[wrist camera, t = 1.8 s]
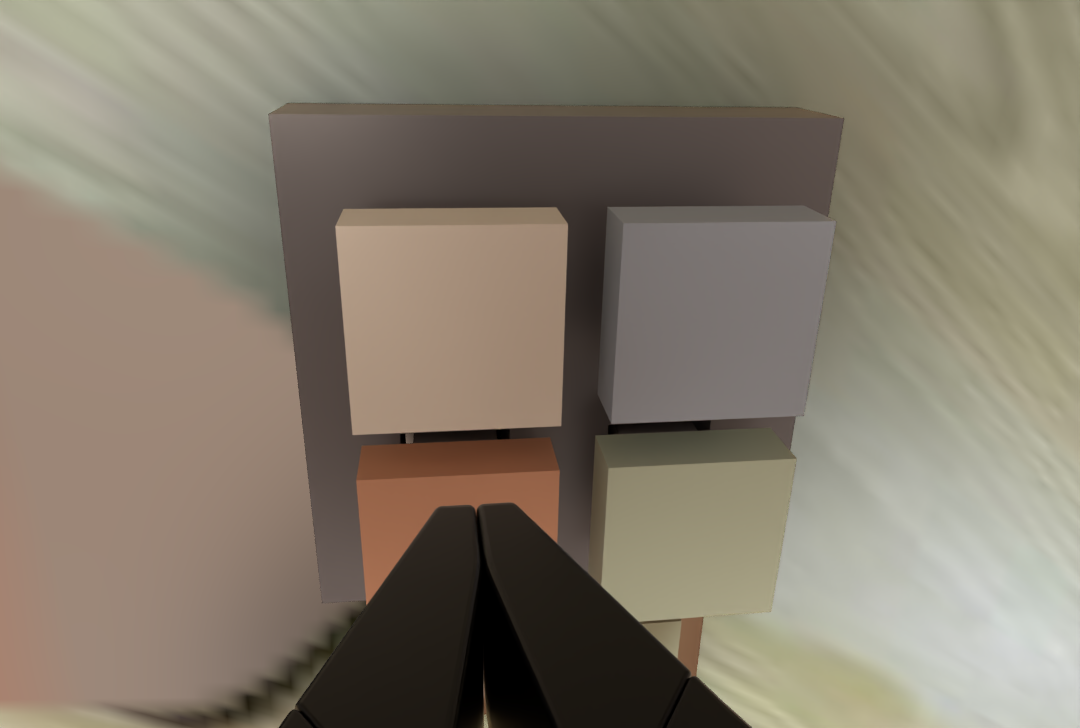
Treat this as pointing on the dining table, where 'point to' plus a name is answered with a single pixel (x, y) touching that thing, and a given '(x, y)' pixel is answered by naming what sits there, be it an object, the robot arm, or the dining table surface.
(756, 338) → the slate-blue key
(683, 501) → the sage key
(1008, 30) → the dining table surface
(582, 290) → the keypad board
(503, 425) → the cream key
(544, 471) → the rust key
